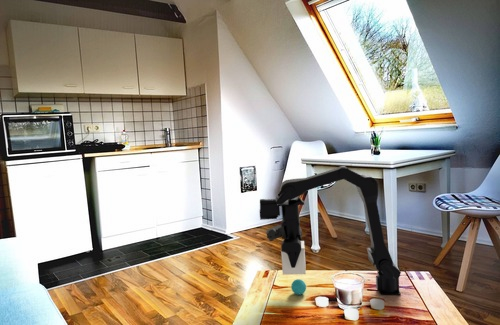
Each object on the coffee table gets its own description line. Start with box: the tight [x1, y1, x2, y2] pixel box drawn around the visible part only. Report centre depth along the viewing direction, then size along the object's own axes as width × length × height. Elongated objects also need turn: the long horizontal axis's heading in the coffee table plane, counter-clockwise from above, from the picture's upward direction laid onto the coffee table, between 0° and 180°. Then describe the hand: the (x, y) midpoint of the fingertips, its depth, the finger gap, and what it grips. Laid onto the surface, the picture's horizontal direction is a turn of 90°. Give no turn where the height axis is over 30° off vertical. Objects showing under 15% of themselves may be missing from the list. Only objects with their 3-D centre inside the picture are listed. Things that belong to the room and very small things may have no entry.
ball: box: [290, 278, 307, 296], centre depth 124 cm, size 5×5×5 cm
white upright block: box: [280, 240, 307, 276], centre depth 123 cm, size 8×8×9 cm
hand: (293, 263), depth 124 cm, fingers closed on white upright block, 7 cm apart
